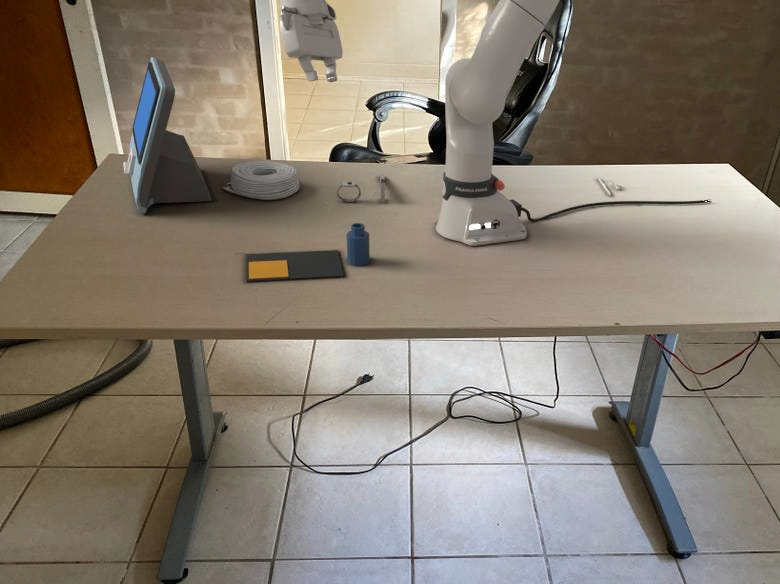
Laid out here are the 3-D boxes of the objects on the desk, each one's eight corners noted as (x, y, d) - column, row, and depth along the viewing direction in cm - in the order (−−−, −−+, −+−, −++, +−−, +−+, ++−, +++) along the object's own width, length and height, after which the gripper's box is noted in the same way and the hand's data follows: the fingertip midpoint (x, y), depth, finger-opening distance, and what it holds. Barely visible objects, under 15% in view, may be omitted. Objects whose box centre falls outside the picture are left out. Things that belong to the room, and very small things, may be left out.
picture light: (597, 179, 221) (598, 172, 220) (611, 180, 222) (612, 173, 221) (609, 196, 210) (610, 189, 209) (623, 196, 210) (625, 189, 209)
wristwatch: (337, 203, 192) (336, 185, 189) (336, 199, 194) (336, 181, 192) (361, 203, 193) (361, 184, 191) (360, 199, 195) (360, 181, 193)
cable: (218, 190, 195) (215, 167, 191) (268, 174, 207) (266, 153, 204) (263, 207, 187) (261, 184, 183) (313, 190, 199) (311, 168, 196)
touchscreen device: (124, 169, 203) (106, 53, 187) (198, 166, 211) (188, 55, 195) (130, 216, 176) (111, 86, 161) (215, 211, 184) (204, 86, 168)
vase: (367, 256, 166) (367, 220, 162) (370, 265, 162) (370, 229, 158) (346, 257, 165) (345, 221, 161) (348, 266, 161) (347, 230, 157)
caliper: (385, 203, 194) (385, 180, 191) (380, 203, 194) (381, 180, 191) (383, 177, 211) (383, 156, 208) (379, 177, 211) (379, 156, 208)
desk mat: (337, 251, 167) (337, 249, 167) (344, 277, 157) (343, 274, 156) (246, 255, 163) (246, 253, 162) (246, 282, 152) (246, 279, 152)
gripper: (293, 0, 139) (314, 76, 143) (338, 11, 158) (355, 78, 161) (265, 9, 141) (286, 84, 145) (312, 19, 160) (330, 85, 163)
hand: (323, 81), depth 153 cm, fingers open, 8 cm apart
